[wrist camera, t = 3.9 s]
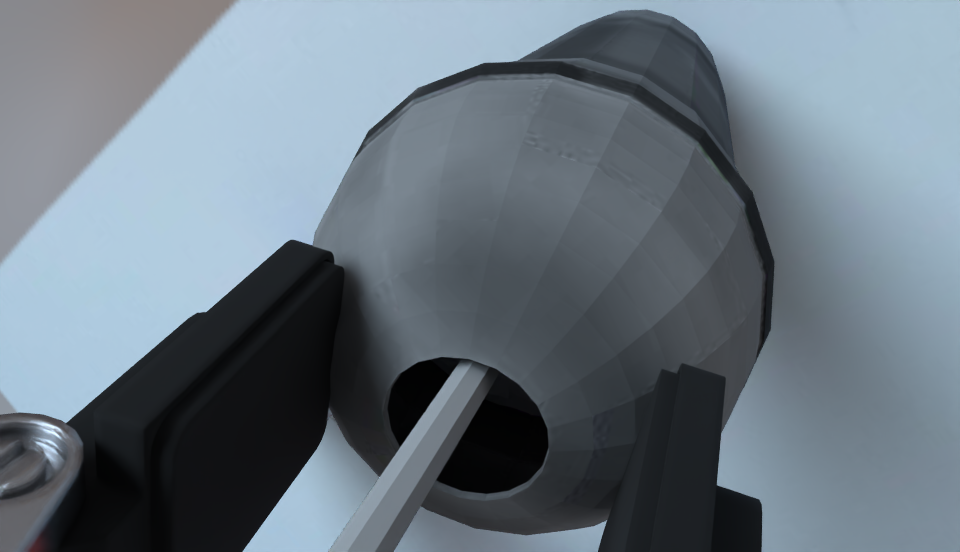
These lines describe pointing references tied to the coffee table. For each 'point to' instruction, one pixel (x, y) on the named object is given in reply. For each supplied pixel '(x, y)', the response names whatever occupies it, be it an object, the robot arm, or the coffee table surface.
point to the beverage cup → (538, 277)
